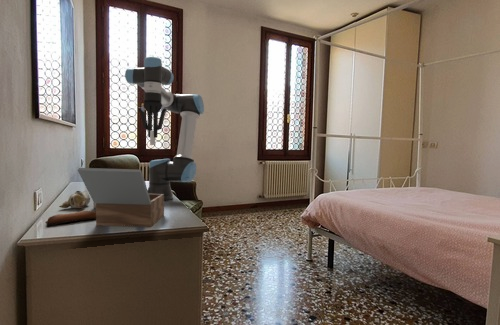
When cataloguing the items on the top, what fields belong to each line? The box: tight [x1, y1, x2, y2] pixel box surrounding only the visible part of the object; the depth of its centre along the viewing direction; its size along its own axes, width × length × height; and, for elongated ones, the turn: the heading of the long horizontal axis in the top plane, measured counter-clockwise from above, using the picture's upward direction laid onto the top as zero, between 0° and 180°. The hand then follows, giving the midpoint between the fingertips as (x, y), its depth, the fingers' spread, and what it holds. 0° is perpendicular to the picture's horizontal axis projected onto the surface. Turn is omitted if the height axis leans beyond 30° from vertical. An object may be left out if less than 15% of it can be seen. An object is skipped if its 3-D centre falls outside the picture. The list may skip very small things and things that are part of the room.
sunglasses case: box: [45, 210, 96, 227], centre depth 126 cm, size 18×7×7 cm
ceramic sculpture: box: [58, 190, 91, 209], centre depth 149 cm, size 11×9×15 cm
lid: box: [77, 167, 151, 205], centre depth 113 cm, size 18×22×1 cm
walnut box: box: [95, 194, 165, 228], centre depth 129 cm, size 18×22×10 cm
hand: (152, 144), depth 138 cm, fingers closed
